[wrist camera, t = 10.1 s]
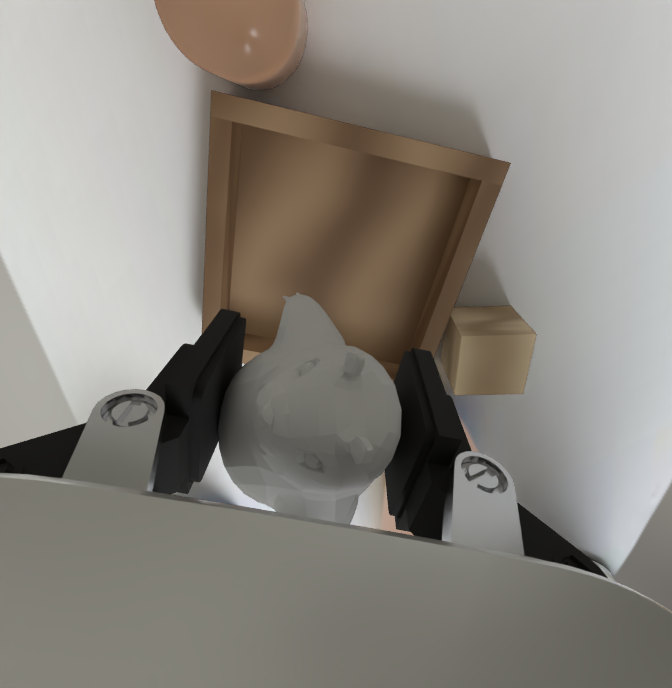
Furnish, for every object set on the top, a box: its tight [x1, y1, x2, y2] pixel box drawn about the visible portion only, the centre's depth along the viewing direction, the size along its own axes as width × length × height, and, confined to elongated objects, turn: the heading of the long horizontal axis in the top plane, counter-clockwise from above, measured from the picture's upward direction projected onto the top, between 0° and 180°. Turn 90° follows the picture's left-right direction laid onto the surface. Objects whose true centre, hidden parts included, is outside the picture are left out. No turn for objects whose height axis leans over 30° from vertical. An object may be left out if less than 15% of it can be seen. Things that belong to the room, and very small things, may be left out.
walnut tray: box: [202, 90, 511, 383], centre depth 22 cm, size 14×14×3 cm
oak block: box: [441, 306, 537, 395], centre depth 23 cm, size 4×4×4 cm
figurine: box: [218, 292, 401, 524], centre depth 10 cm, size 8×6×8 cm
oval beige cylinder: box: [154, 0, 307, 90], centre depth 15 cm, size 5×5×5 cm
